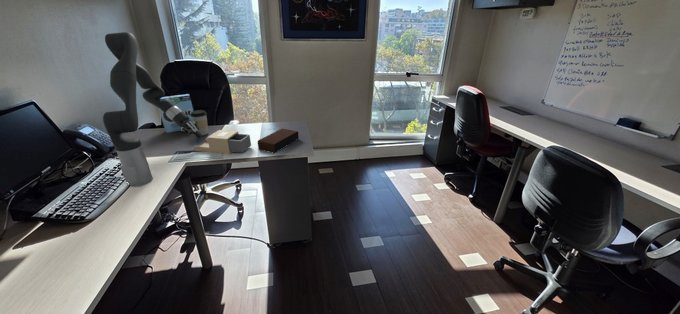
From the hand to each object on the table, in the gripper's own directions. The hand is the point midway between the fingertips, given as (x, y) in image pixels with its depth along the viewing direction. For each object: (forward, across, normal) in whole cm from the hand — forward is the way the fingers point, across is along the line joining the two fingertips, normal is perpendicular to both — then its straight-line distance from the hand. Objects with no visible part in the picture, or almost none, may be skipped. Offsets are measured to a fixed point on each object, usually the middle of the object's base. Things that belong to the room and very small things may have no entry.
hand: (201, 137), depth 162 cm
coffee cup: (-5, +19, +14) cm, 24 cm away
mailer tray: (+16, 0, -9) cm, 19 cm away
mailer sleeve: (+11, 0, -2) cm, 11 cm away
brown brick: (+35, +13, -26) cm, 45 cm away
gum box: (-19, +24, +28) cm, 42 cm away
